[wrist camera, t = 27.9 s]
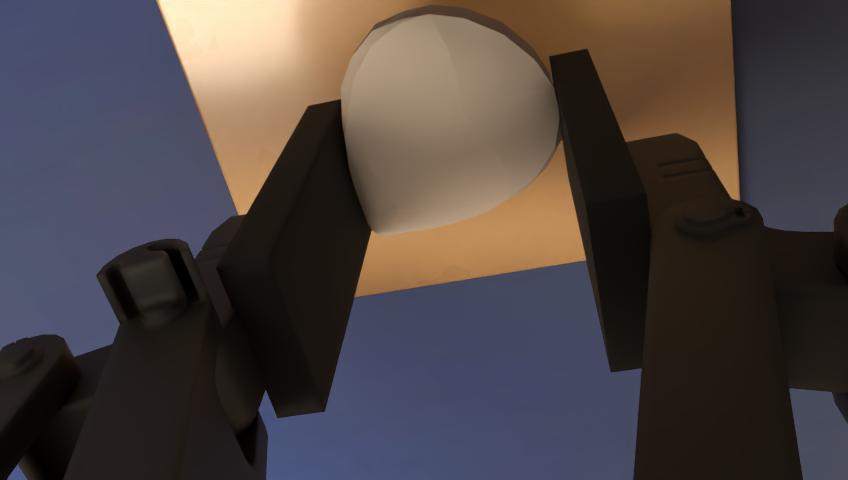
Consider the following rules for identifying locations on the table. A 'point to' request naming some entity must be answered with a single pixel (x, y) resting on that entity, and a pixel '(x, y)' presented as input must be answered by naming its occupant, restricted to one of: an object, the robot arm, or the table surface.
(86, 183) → the table surface
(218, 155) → the wooden board
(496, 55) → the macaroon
